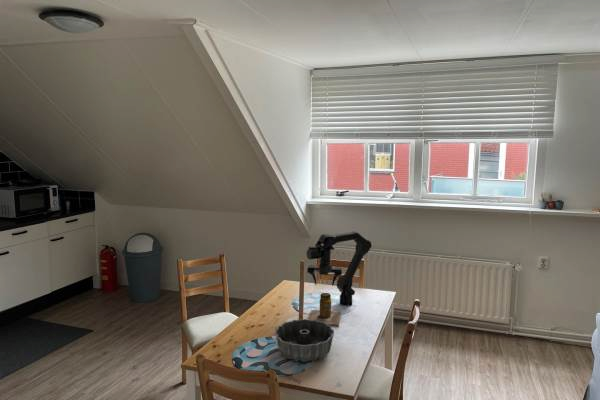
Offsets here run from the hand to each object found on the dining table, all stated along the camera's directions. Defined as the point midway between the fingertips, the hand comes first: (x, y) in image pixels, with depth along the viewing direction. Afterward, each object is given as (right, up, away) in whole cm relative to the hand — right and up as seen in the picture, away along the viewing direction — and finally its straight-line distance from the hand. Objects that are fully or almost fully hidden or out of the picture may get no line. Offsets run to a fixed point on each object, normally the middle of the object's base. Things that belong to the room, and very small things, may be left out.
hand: (324, 285), depth 243 cm
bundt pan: (-11, -21, -47) cm, 53 cm away
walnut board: (-1, -15, -13) cm, 20 cm away
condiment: (-1, -14, -13) cm, 19 cm away
